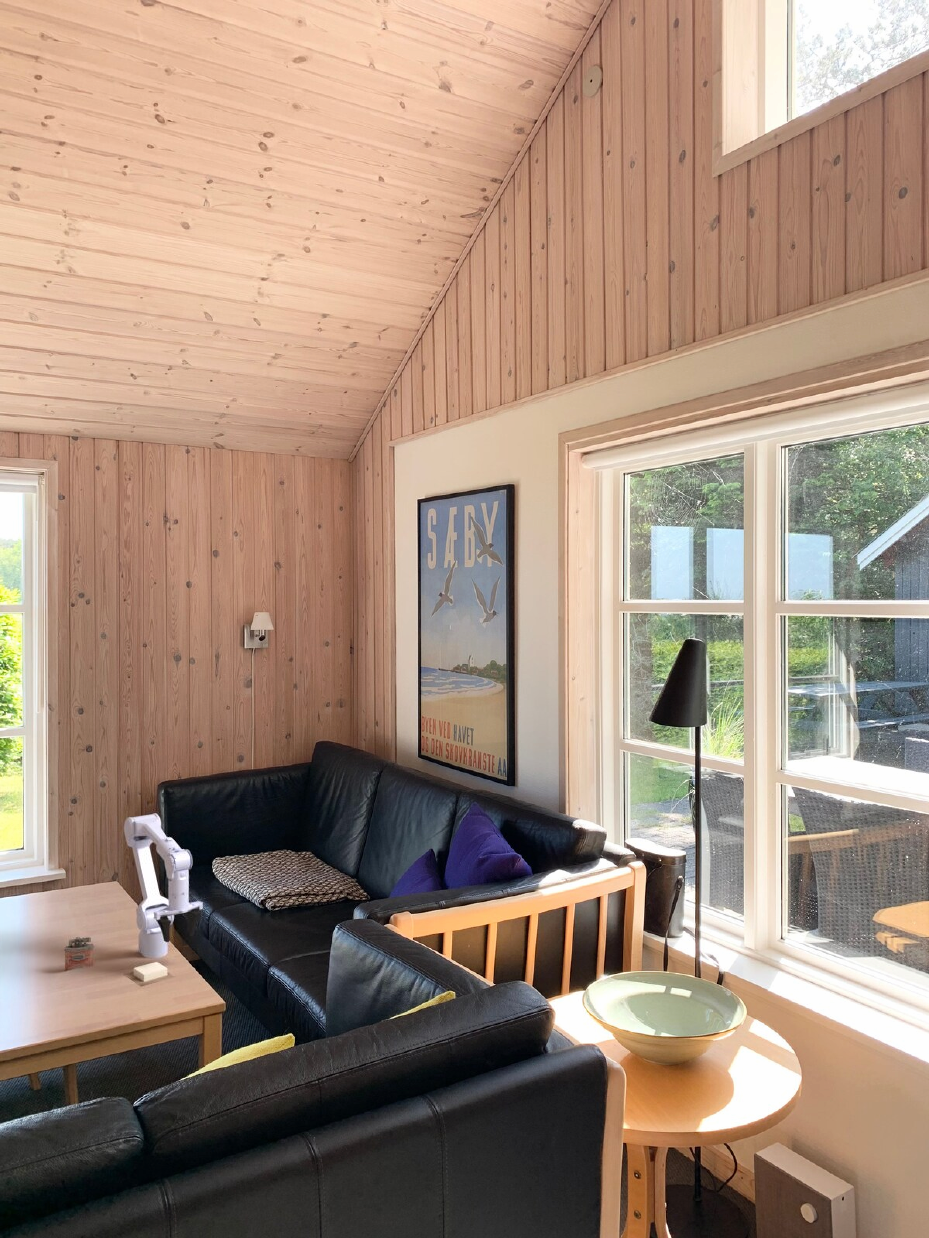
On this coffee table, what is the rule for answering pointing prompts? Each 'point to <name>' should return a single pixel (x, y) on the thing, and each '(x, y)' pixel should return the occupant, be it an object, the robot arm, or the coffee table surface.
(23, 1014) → the coffee table surface
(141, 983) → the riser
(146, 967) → the cream flat block
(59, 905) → the coffee table surface
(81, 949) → the lighter
